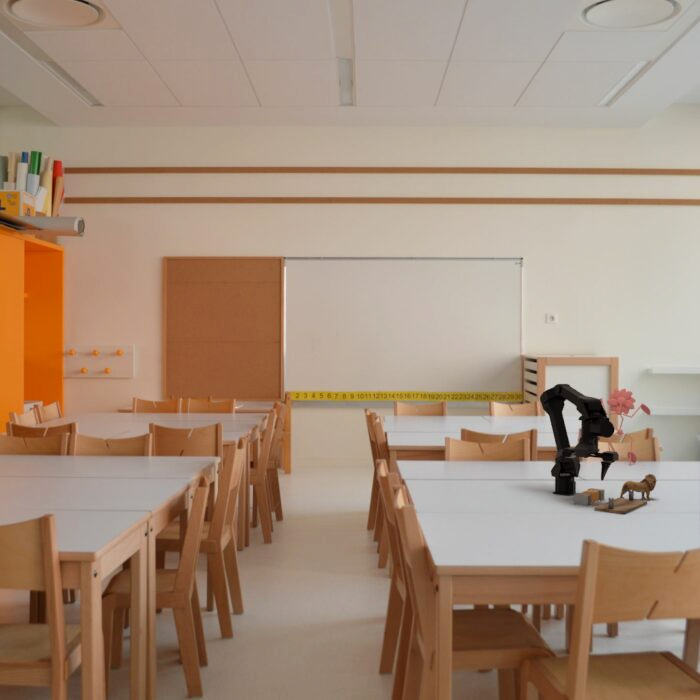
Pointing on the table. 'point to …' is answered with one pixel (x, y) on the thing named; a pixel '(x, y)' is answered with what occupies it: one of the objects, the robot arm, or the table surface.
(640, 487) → the lion figurine
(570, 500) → the table surface
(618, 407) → the figurine
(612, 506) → the board
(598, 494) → the hammer
